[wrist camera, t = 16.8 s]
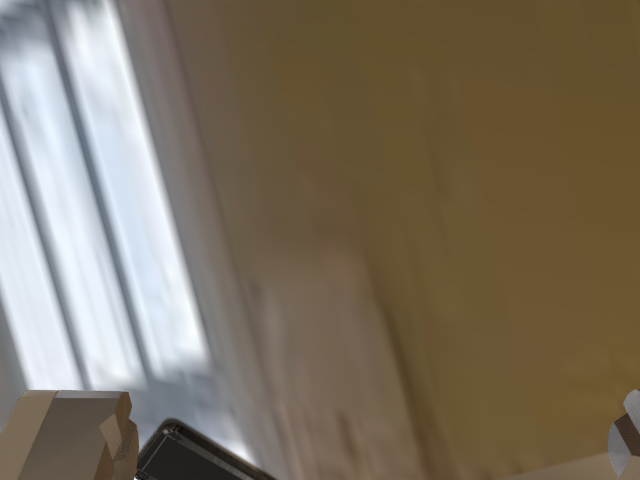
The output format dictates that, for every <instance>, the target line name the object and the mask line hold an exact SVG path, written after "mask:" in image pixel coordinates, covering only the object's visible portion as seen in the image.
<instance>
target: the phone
mask: <svg viewBox="0 0 640 480" xmlns="http://www.w3.org/2000/svg"><path fill="white" fill-rule="evenodd" d="M135 478H136V479H138V480H269V479H268V478H266V477H265V476H263V475H261V474H260V473H258V472H256V471H255V470H253V469H251V468H250V467H248V466H246V465H245V464H243V463H241V462H240V461H238V460H237V459H235V458H233V457H232V456H230V455H228V454H227V453H225V452H223V451H222V450H220V449H218V448H217V447H215V446H213V445H212V444H210V443H209V442H207V441H205V440H204V439H202V438H200V437H199V436H197V435H195V434H194V433H192V432H190V431H189V430H187V429H185V428H184V427H182V426H180V425H178V424H174V423H172V424H167V425H166V426H164V428H163V429H162V430H161V431H160V433H159V434H158V435H157V436H156V438H155V439H154V440H153V442H152V443H151V444H150V445H149V447H148V448H147V449H146V451H145V452H144V453H143V454H142V456H141V457H140V458H139V459H138V461H137V468H136V472H135Z"/></svg>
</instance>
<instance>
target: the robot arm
mask: <svg viewBox="0 0 640 480" xmlns="http://www.w3.org/2000/svg"><path fill="white" fill-rule="evenodd" d="M623 406H624V408H625V410H626V412H627V413H626V414H625V415H623V416H622V417H620V418H619V419H617V420H616V421H614V422H613V424H612V427H611V429H610V431H609V434H608V454H609V457H610V460H611V464H612V466H613V469H614V470H615V473H616V475H617V477H618V479H619V480H640V389H636V390H634V391H632V392H631V393H629V394H628V395H627V397H626V399H625V401H624V403H623ZM131 408H132V404H131V400H130V397H129V393H128V392H120V391H77V390H27V391H26V392H25V393H24V394H23V395H22V396H21V397H20V398H19V399H18V401H17V403H16V405H15V407H14V409H13V411H12V413H11V415H10V417H9V419H8V421H7V423H6V425H5V427H4V429H3V431H2V433H1V435H0V480H134V477H135V472H136V468H137V460H138V451H139V440H138V431H137V426H136V424H135V423H134V422H132V421H131V420H130V419H129V415H130V412H131Z"/></svg>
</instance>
